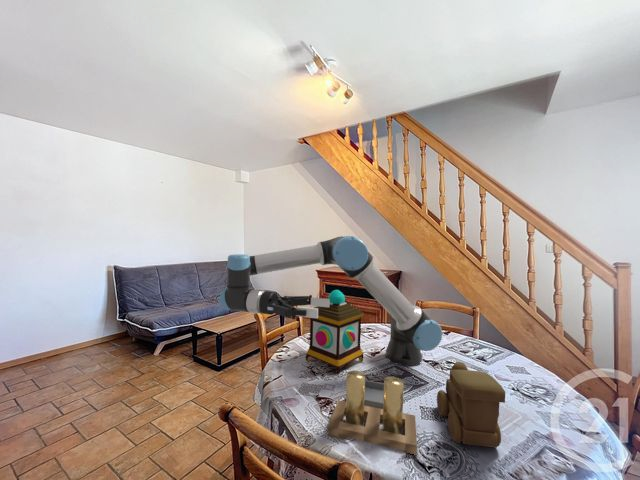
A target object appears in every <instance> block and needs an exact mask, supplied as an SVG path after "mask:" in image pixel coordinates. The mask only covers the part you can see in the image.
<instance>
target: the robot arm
mask: <svg viewBox="0 0 640 480" xmlns="http://www.w3.org/2000/svg"><path fill="white" fill-rule="evenodd" d="M318 264H319V265H322V266H326V265H327V266H328V265H335V266H338V267H339V268H340V269H341V270H342V272H344V273H345V274H346V276H348V277H349V278H350V279H355V280H357V281H358V282H359V283H360V284H361V285H362V286H363V288H364V289H365V290H366V291H367V292H368V293H369V294H370V295H371V296H372V297H373V299H375V300H376V301H377V302H378V304H379V305H381V306H382V308H383V309H384V310H385V311H386V312H387V313H388V314H389V315H390V338H389V341H388V344H387V347H386V349H385V358H386V359H387V358H388V359H389V360H390V361H389V360H388V359H387V360H388V361H389V362H391V361H392V362H391V363H393V362H394V364H396V363H397V364H396V365H399V364H401V365H400V366H405V365H415V366H417V365H416V364H419V363H420V362H421V361H422V362H423V355H422V352H423V351H424V352H428V351H433V350H434V349H436V348H438V346H439V345H440V343H441V341H442V338H443V336H442V335H443V329H442V326H441V325H440V324H439V323H438V322H437V321H436V320H434V319H431V318H430V317H429V316H428V315H427V314H426V312H425V311H424V310H422V308H421V307H420V306H418V305H414V304H413V305H412V303H411V302H410V301H409V300H408V299H407V298H406V297H405V295H403V294H402V292H401V291H400V290H399V289H398V288H397V287H396V286H395V285H394V284H393V283H392V282H391V281H390V280H389V279H388V277H387V276H386V275H385V274H384V272H382V271H381V269H380V268H379V267H378V266H377V265H376V264H375V263H374V256H373V255H372V253H370V251H369V249H368V247H367V245H366V244H365V242H364V241H363V240H361V239H360V238H358V237H356V236H351V235H346V236H345V235H344V236H342V235H340V236H337V237H334V238H330V239H327V240H323V241H318V242H317V243H316V244H314V245H309V246H302V247H297V248H296V247H295V248H291V249H285V250H279V251H273V252H267V253H261V254H254V255H248V254H241V253H240V254H239V253H237V254H235V253H234V254H229V255H228V257H227V263H226V267H227V271H226V273H227V275H226V277H227V278H226V287H225V288H223V289H222V290H221V291H220V295H219V297H218V304H219V306H220V307H221V309H223V310H228V311H231V312H242V313H253V314H254V315H257V314H262V315H274V314H275V315H277V316H281V317H284V318H287V319H292V320H296V319H297V318H296V317H300V318H309V319H310V318H318V309H317V308H314V307H318V306H319V307H330V299H328V298H320V297H313V295H312V294H309V295H293V296H292V295H291V296H289V295H284V296H281V297H279V296H278V294H277V293H276V291H267V290H257V289H250V279H251V278H250V277H251V276H255V275H260V274H265V273H272V272H278V271H282V270H283V271H284V270H288V269H295V268H299V267H300V268H301V267H306V266H312V265H318ZM304 306H311V307H304ZM421 351H422V352H421ZM419 365H420V364H419Z"/></svg>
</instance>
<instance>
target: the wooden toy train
mask: <svg viewBox="0 0 640 480" xmlns="http://www.w3.org/2000/svg"><path fill="white" fill-rule="evenodd" d="M436 403H437V405H436V406H437V409H438V413H439V414H440V416H441V417H443V418H447V425H448V433H449V435H451V436H450V438H451V437H452V438H451V440H452V439H453V440H454V441H455V442H454V441H453V440H452V441H453V442H454V443H456V444H460V443H461V442H463V444H464V445H471V446H480V447H481V446H482V447H488V448H495V447H496V448H498V447H499V446H500V445H501V443H502V433H501V428H500V426H499V423H498V421H499V413H500V403H504V404H506V390H505V389H504V388H503V386H502V385H501V384H500V383H499V382H498V381H497V379H495V378H494V377H493V376H491V374H489V373H488V372H486V371H485V372H483V371H478V370H471V369H470V370H469V369H468V367H467V366H466V364H465V363H464V362H462V361H456V362H454V364H453V365H452V366H451V369H449V378H447V379H446V381H445V391H444V390H441V389H440V390H439V391H438V392H437V395H436ZM496 448H495V449H496Z"/></svg>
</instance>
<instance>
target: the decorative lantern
mask: <svg viewBox="0 0 640 480" xmlns="http://www.w3.org/2000/svg"><path fill="white" fill-rule="evenodd" d="M327 299H330V307H319V306H313V308H317V309H318V318H309V319H310V320H309V321H310V324H309V347H308V350H307V351H306V353H305V361H306V362H310V360H311V358H312V359H315V360H316V361H317V360H318V361H320V362H321V363H324V364H326V365H329V366H331V367H334V368H335V374H336V375H340V373H341V368H342V367H345V366H346V365H349V364H350V363H351V362H353V361H355V360H357V359H358V361H359V362H360V363H362V362H363V360H364V353H363V350H362V348H361V334H362V332H361V331H362V330H361V329H362V328H361V327H362V318H363V316H364V314H365V313H364V312H363V310H360V308H359V307H355V306H353V305H351V303H349V302H348V301H346V297H345V294H344V293H343V292H342V291H340V290H339V289H334V290H332V291H331V292H330V293H329V294H328V298H327Z"/></svg>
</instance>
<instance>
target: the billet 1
mask: <svg viewBox="0 0 640 480" xmlns="http://www.w3.org/2000/svg"><path fill="white" fill-rule="evenodd" d="M365 380H366V374H365V373H364V372H362V371H359V370H350V371H348V372H347V373H346V388H345V389H346V392H345V393H346V394H345V402H346V414H345V418H344V419H345V420H344V422H345V423H350V424H355V425H359V426H364V425H365V418H364V399H365ZM364 427H365V426H364Z"/></svg>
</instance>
